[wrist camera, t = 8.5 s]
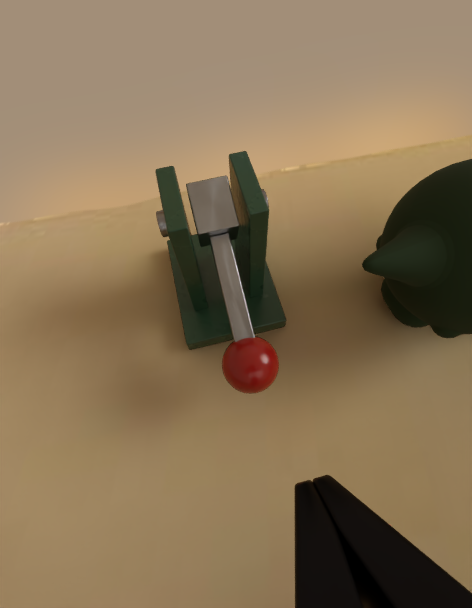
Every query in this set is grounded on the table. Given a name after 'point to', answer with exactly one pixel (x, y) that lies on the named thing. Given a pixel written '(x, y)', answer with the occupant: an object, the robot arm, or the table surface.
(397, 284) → the toy figurine
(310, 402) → the table surface
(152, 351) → the table surface
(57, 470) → the table surface
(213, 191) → the lever
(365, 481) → the table surface
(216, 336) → the bracket
